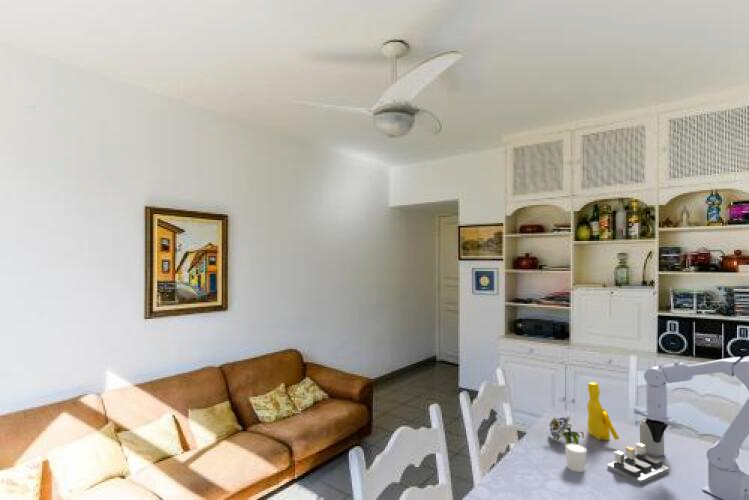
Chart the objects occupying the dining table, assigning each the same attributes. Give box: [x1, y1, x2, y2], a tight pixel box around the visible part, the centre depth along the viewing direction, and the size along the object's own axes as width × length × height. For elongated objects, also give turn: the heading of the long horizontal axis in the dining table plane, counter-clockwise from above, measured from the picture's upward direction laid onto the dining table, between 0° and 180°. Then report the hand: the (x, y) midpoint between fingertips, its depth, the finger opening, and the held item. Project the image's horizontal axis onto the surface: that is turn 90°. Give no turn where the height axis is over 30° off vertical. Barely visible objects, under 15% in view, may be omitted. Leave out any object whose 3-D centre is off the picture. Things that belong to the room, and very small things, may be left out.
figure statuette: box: [586, 382, 620, 441], centre depth 163 cm, size 18×8×22 cm, turn 6°
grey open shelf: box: [607, 442, 670, 486], centre depth 139 cm, size 11×16×6 cm
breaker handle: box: [625, 446, 636, 460], centre depth 141 cm, size 2×2×3 cm
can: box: [639, 417, 665, 457], centre depth 151 cm, size 8×8×12 cm
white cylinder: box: [564, 442, 588, 473], centre depth 141 cm, size 7×7×7 cm
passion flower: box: [549, 416, 585, 444], centre depth 160 cm, size 11×11×12 cm
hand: (657, 441), depth 139 cm, fingers closed
